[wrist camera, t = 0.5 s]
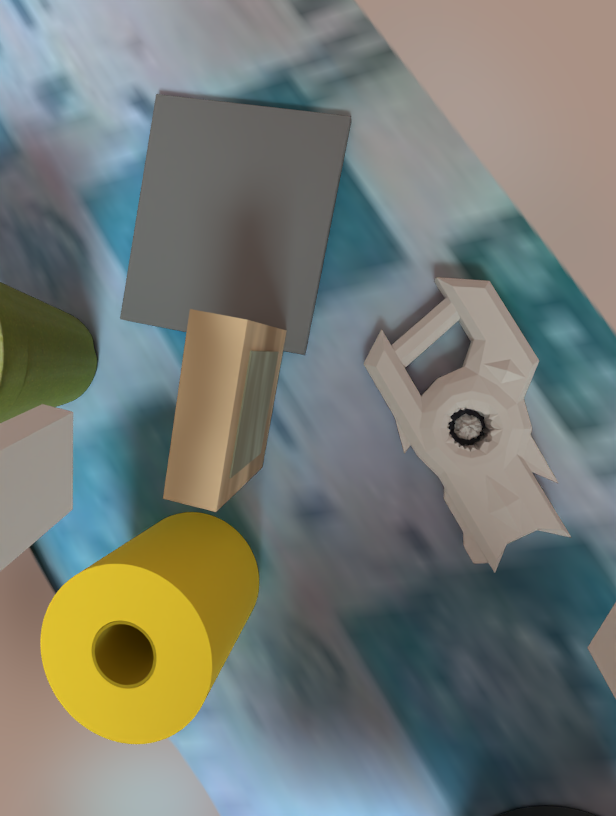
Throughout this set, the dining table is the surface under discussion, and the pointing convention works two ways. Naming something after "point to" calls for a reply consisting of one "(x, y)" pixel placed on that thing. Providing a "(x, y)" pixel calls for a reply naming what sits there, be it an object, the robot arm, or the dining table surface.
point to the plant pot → (40, 354)
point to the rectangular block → (222, 408)
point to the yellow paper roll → (150, 628)
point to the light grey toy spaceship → (473, 418)
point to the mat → (234, 214)
